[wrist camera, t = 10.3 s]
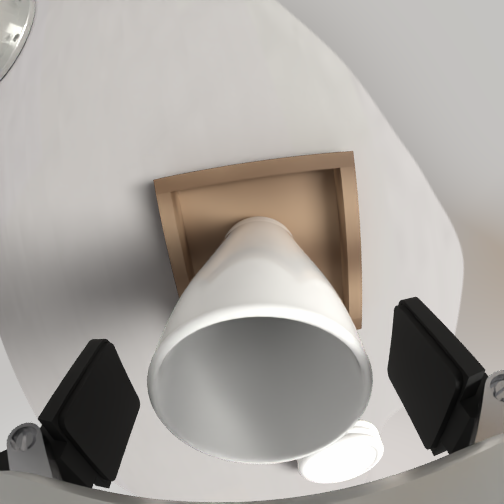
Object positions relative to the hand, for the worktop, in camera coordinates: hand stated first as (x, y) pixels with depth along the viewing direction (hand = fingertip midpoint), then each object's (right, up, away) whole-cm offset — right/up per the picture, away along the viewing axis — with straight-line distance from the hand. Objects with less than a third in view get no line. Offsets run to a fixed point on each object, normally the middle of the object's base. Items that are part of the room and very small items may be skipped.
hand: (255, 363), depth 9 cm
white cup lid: (+10, -19, +21) cm, 30 cm away
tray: (+1, +4, +14) cm, 14 cm away
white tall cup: (0, +4, +13) cm, 14 cm away
